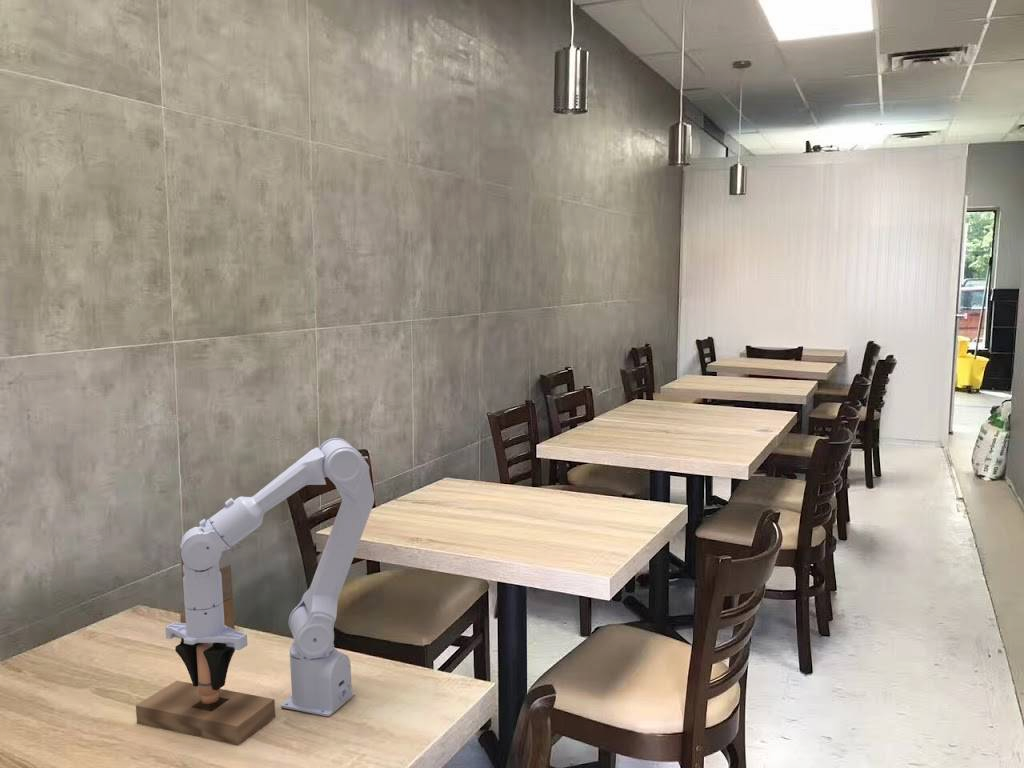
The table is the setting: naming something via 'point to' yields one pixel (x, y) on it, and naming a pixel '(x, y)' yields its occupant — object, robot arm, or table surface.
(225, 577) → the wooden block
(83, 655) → the table surface
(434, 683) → the table surface
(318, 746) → the table surface
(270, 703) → the board
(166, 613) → the table surface
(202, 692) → the peg
